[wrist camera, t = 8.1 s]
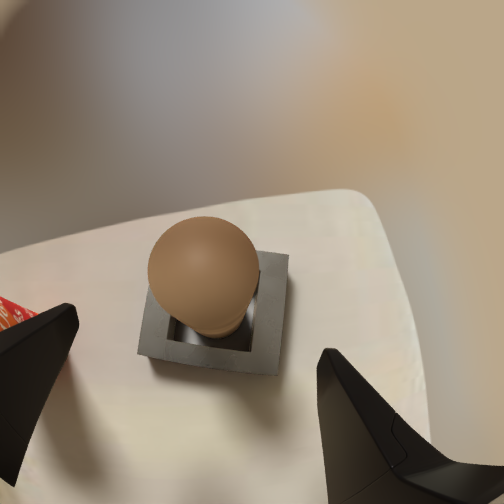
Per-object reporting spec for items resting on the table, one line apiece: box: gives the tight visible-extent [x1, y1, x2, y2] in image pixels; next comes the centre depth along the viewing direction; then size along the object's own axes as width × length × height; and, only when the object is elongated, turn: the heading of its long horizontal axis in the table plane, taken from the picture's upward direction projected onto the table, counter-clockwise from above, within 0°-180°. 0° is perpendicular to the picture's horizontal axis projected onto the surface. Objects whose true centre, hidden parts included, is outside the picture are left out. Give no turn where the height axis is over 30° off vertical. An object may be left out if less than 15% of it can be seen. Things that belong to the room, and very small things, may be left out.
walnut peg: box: [148, 216, 259, 339], centre depth 17 cm, size 4×4×12 cm
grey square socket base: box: [137, 250, 289, 376], centre depth 21 cm, size 9×10×3 cm
